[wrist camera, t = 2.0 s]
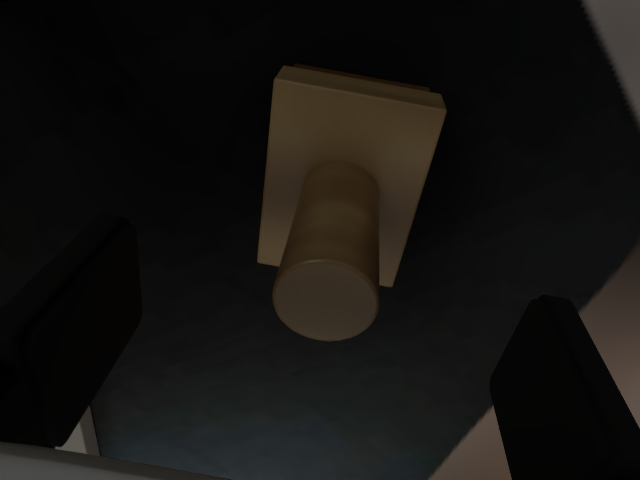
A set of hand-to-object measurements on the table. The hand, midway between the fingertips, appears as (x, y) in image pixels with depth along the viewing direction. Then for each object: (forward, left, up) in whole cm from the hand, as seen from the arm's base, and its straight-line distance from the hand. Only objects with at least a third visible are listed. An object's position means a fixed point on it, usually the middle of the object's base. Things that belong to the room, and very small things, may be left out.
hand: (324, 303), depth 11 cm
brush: (-1, 0, -7) cm, 7 cm away
